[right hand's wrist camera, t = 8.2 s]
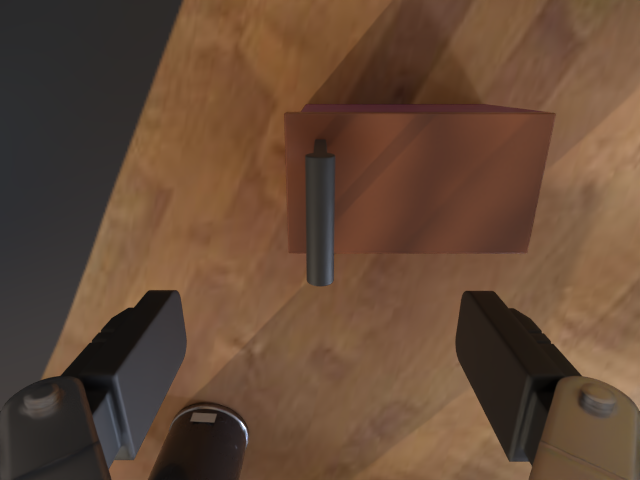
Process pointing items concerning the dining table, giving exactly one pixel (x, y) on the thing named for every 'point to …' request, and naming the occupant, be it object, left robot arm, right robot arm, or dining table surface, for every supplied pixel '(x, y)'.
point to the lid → (411, 183)
